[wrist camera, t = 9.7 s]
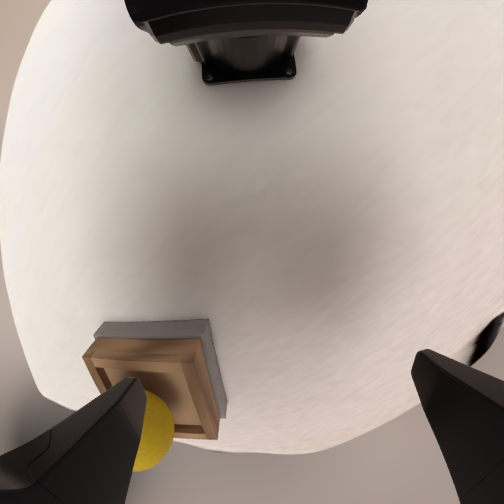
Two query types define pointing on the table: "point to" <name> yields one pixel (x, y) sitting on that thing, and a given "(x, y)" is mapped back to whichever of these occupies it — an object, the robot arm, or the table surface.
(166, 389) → the wooden tray
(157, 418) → the lemon
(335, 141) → the table surface
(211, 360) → the bottom block
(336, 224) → the table surface
